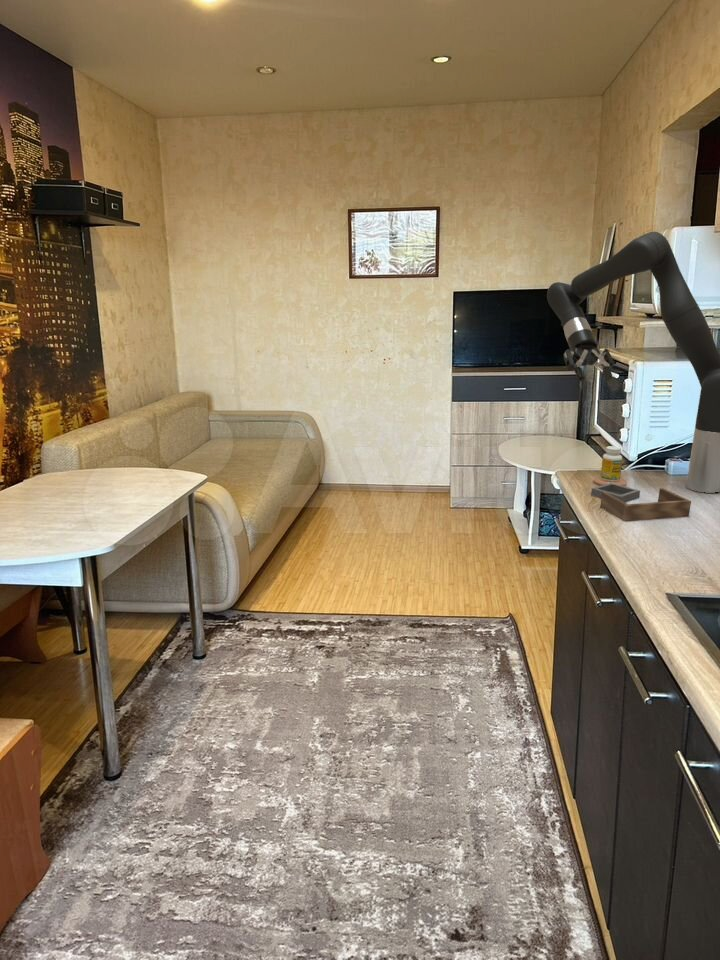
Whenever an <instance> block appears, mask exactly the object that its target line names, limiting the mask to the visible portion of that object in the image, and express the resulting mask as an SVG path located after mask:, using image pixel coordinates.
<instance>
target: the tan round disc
mask: <svg viewBox="0 0 720 960" xmlns="http://www.w3.org/2000/svg"><path fill="white" fill-rule="evenodd" d="M627 482H628V481H627V479H625V478H622V477H620V480H619V481H617V482H607V481H603V480H602V479H601V475H597V476H594V477H593V483H594V484H595V485H597V486H601V485H605V484H608V483H613V484H617V485H621V486H625V487H627V484H628V483H627Z"/></svg>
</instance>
